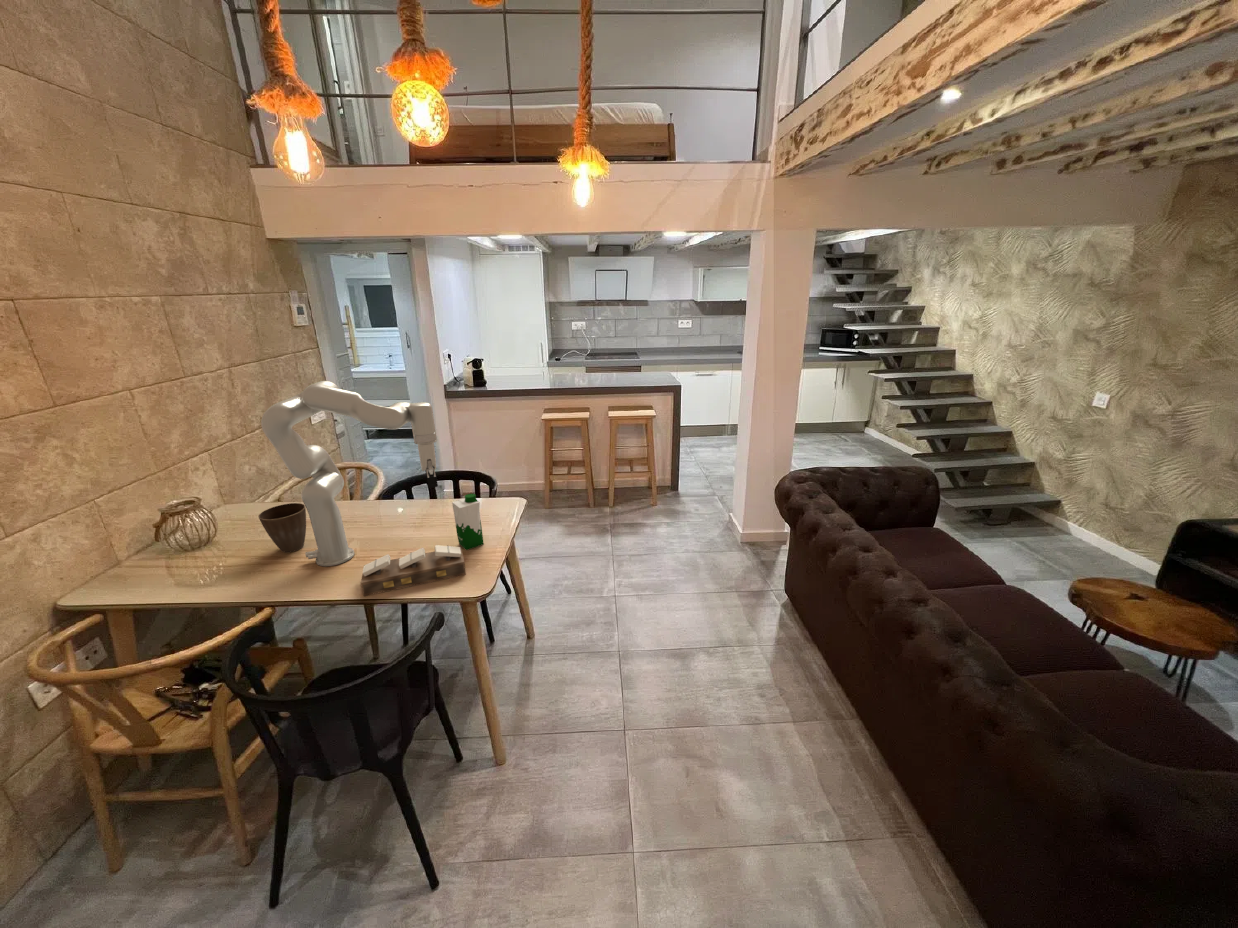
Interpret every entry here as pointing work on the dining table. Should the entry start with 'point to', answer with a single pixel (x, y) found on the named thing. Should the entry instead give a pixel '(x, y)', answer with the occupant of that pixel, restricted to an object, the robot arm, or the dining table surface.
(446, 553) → the rocker
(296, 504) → the plant pot
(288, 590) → the dining table surface
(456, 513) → the milk carton
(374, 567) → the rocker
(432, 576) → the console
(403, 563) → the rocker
